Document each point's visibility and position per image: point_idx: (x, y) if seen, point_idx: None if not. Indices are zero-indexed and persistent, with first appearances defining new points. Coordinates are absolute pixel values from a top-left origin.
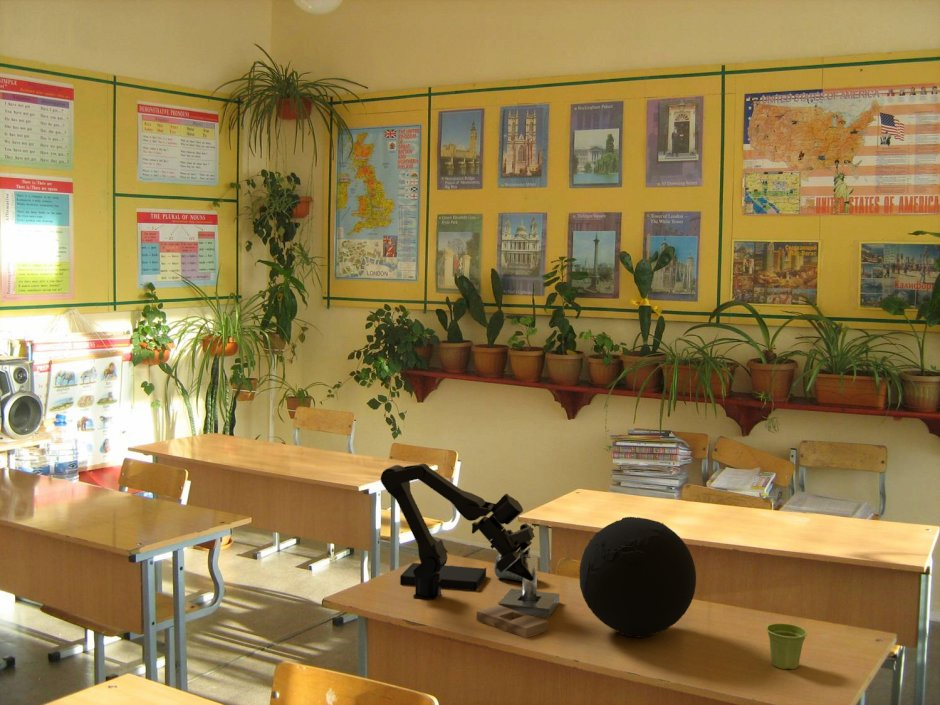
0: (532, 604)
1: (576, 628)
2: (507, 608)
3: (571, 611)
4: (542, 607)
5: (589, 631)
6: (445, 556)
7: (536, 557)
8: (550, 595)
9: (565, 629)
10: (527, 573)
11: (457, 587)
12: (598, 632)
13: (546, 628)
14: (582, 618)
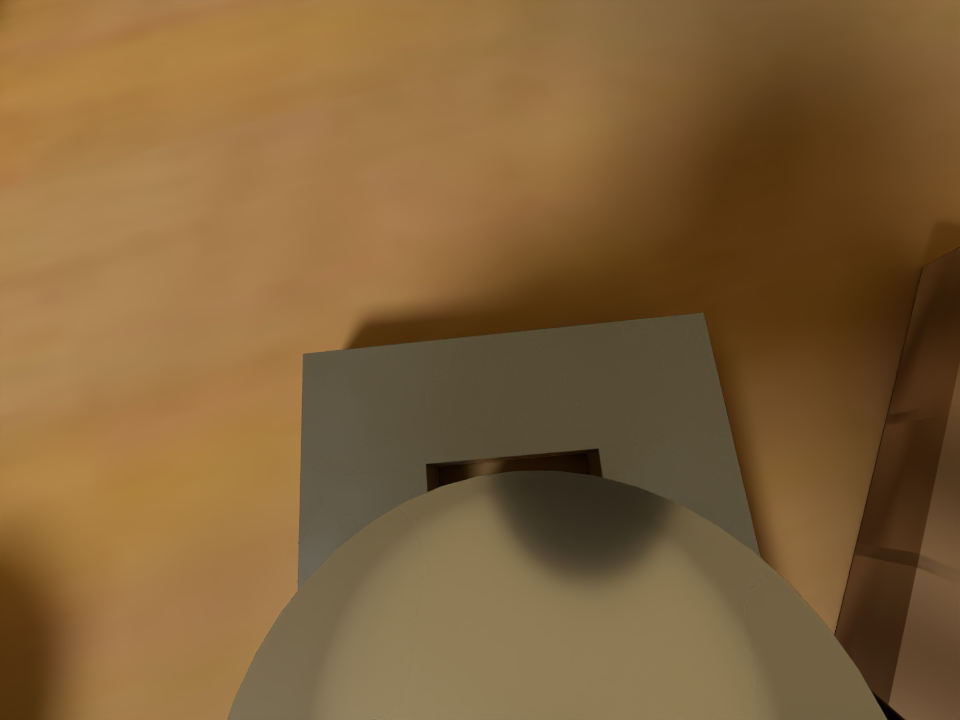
0: (668, 467)
1: (763, 135)
2: (914, 656)
3: (476, 249)
4: (697, 365)
5: (768, 67)
6: None
7: (579, 491)
8: (370, 404)
9: (820, 181)
10: None
11: None
12: (754, 29)
13: (942, 260)
14: (573, 158)
